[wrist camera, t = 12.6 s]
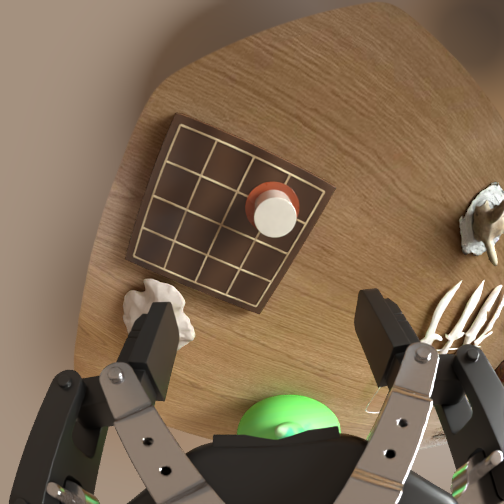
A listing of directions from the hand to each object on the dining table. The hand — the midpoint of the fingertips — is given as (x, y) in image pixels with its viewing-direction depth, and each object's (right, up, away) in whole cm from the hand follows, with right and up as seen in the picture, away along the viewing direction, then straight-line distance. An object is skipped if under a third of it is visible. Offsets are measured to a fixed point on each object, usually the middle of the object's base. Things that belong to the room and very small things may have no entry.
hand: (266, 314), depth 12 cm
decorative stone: (-14, -6, +26) cm, 30 cm away
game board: (-4, +6, +20) cm, 21 cm away
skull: (+33, +7, +20) cm, 39 cm away
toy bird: (+6, -25, +36) cm, 44 cm away
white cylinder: (+2, +7, +18) cm, 19 cm away
